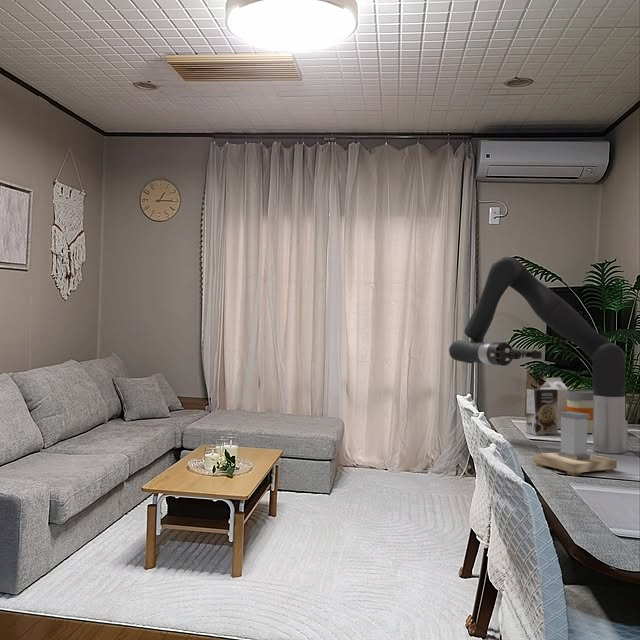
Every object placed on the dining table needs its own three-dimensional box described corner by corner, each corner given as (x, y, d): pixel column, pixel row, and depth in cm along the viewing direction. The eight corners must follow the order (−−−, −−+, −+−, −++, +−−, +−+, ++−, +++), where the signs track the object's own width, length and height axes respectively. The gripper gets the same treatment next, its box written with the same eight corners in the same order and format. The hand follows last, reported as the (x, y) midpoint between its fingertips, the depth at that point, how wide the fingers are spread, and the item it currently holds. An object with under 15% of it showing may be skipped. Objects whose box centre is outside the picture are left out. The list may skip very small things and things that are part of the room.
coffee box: (535, 435, 242) (535, 389, 242) (525, 432, 248) (525, 388, 249) (558, 434, 245) (558, 389, 245) (547, 431, 251) (547, 387, 251)
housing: (570, 454, 191) (570, 411, 191) (589, 458, 185) (589, 414, 185) (558, 455, 189) (558, 412, 190) (577, 460, 183) (577, 415, 183)
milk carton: (539, 427, 262) (540, 377, 262) (554, 426, 265) (554, 376, 265) (553, 429, 256) (553, 378, 256) (567, 428, 259) (567, 378, 259)
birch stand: (574, 461, 197) (574, 450, 197) (616, 471, 183) (616, 460, 183) (533, 465, 191) (533, 454, 191) (574, 476, 177) (574, 464, 177)
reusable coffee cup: (565, 433, 247) (565, 391, 247) (565, 428, 259) (565, 388, 259) (603, 435, 243) (603, 393, 243) (601, 430, 255) (601, 390, 255)
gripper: (477, 342, 219) (511, 343, 205) (512, 341, 225) (548, 342, 211) (477, 365, 219) (511, 368, 205) (512, 364, 225) (548, 367, 210)
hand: (529, 355), depth 208 cm, fingers open, 8 cm apart
